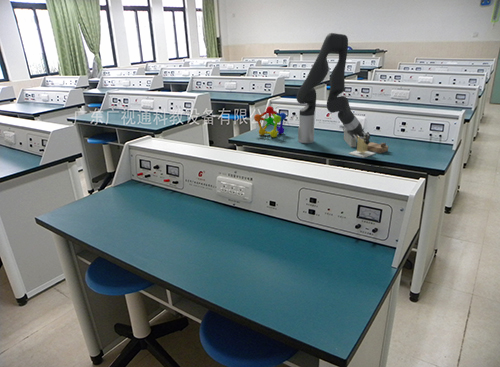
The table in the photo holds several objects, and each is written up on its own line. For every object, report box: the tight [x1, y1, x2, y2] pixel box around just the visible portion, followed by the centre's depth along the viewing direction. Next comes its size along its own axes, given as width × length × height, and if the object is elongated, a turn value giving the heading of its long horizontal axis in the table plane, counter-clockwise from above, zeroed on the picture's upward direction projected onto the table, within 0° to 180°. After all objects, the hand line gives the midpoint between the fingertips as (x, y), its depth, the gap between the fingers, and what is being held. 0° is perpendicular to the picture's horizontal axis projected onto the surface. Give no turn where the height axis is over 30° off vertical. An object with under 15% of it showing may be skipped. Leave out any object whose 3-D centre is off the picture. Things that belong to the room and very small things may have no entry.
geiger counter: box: [342, 125, 358, 148], centre depth 222 cm, size 14×6×25 cm
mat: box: [348, 149, 376, 159], centre depth 200 cm, size 10×10×1 cm
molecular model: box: [253, 105, 287, 138], centre depth 246 cm, size 21×15×20 cm
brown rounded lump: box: [367, 141, 389, 155], centre depth 205 cm, size 12×7×5 cm, turn 35°
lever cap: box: [356, 137, 368, 152], centre depth 198 cm, size 4×4×8 cm
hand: (364, 142), depth 199 cm, fingers closed on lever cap, 4 cm apart
